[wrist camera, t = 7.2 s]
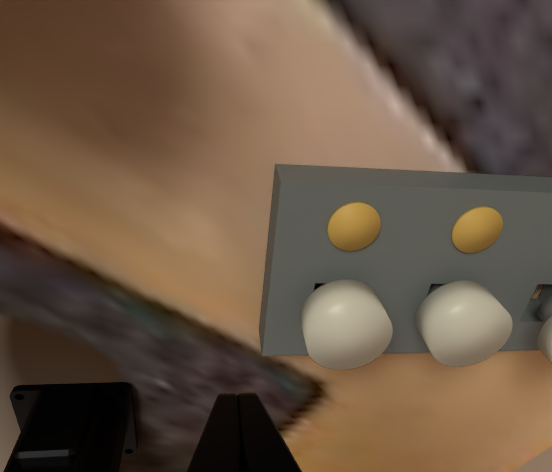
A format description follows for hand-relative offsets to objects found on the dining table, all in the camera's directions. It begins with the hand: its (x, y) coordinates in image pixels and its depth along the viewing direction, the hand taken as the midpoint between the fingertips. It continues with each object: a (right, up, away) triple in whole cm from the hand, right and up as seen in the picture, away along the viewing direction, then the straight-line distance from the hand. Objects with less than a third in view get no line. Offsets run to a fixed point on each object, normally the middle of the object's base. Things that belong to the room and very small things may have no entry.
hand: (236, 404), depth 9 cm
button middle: (+10, +1, +14) cm, 17 cm away
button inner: (+4, +1, +13) cm, 14 cm away
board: (+10, +2, +14) cm, 17 cm away
